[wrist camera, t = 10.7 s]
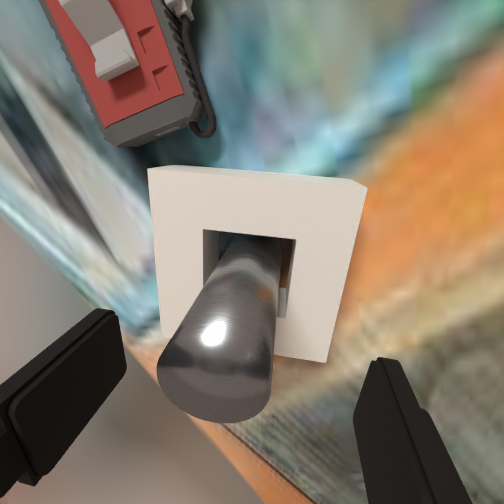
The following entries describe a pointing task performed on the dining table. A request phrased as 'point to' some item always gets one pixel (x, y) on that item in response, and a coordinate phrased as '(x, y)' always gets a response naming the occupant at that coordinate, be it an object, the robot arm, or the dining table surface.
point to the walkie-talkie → (134, 66)
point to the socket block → (256, 223)
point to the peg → (227, 336)
